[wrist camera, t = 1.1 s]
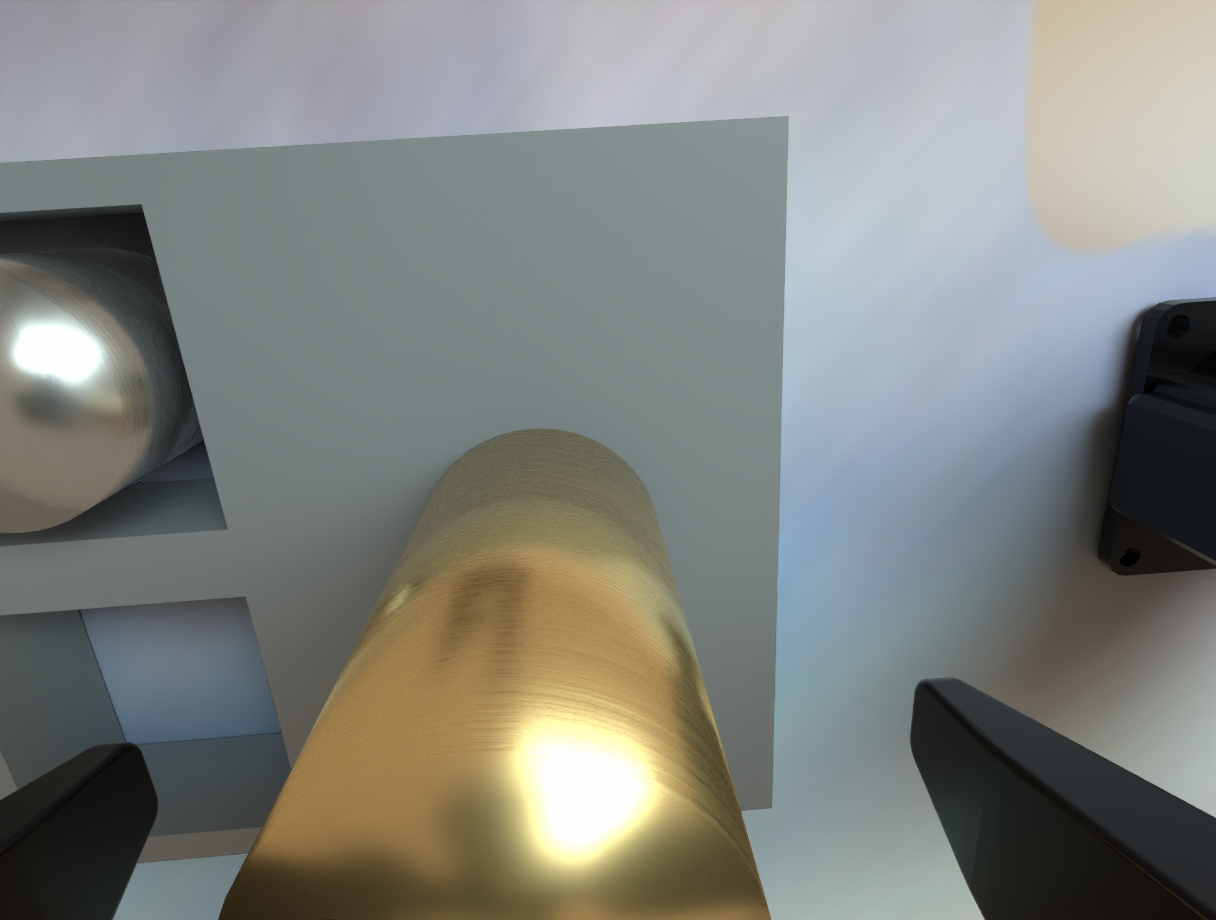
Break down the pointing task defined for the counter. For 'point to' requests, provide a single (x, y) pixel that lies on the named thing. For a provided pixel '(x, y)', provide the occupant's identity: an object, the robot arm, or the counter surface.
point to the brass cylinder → (515, 722)
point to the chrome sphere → (85, 382)
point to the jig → (415, 409)
